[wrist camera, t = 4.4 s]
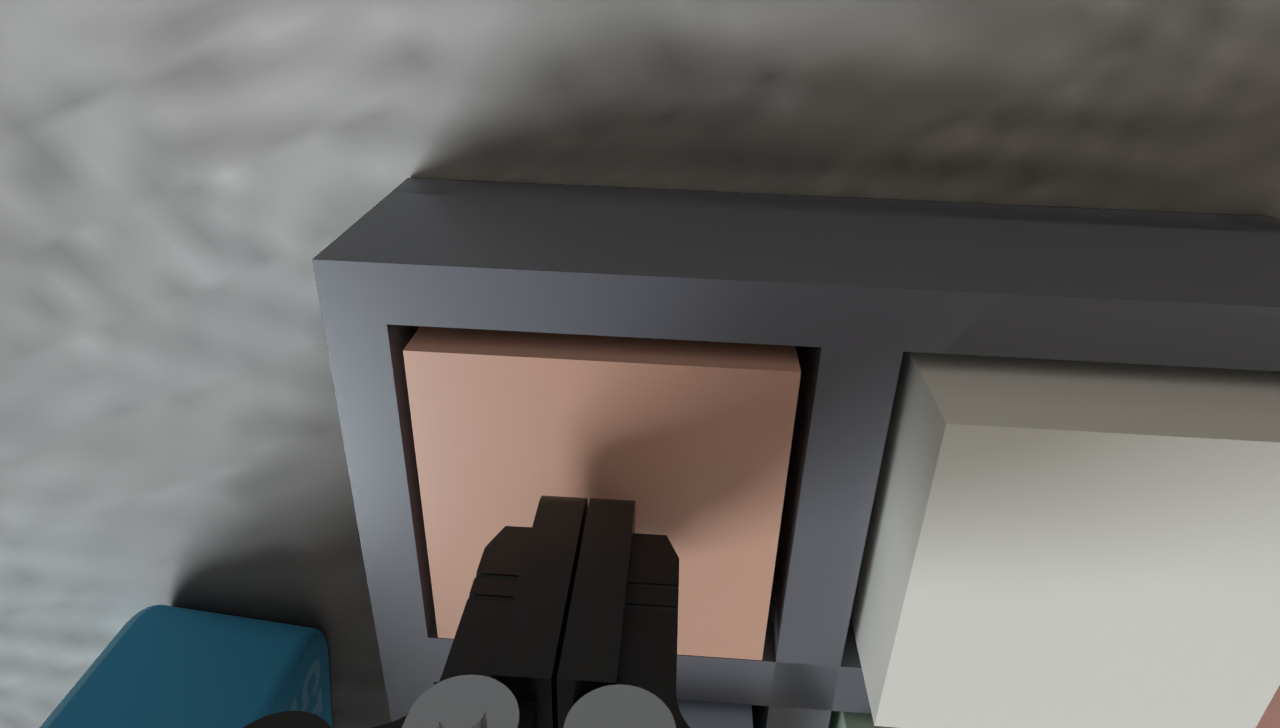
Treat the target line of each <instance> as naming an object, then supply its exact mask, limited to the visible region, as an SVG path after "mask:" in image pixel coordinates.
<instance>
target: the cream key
mask: <svg viewBox="0 0 1280 728" xmlns="http://www.w3.org/2000/svg"><path fill="white" fill-rule="evenodd" d="M850 617H851V621H852V626H853V630H854V635H855V640H856V644H857V649H858V653H859V658H860V663H861V667H862V672H863V676H864V681H865V686H866V690H867V695H868V699H869V704H870V708H871V713H872V718H873V722H874V726H882V727H896V728H1256V726H1257V724H1258V723H1259V721H1260V719H1261V717H1262V716H1263V714H1264V712H1265V710H1266V708H1267V707H1268V705H1269V703H1270V701H1271V700H1272V698H1273V696H1274V694H1275V692H1276V691H1277V689H1278V687H1279V685H1280V372H1279V371H1260V370H1241V369H1222V368H1203V367H1184V366H1165V365H1146V364H1127V363H1108V362H1089V361H1070V360H1051V359H1033V358H1014V357H995V356H976V355H957V354H938V353H919V352H903V356H902V361H901V366H900V371H899V376H898V381H897V386H896V391H895V396H894V401H893V406H892V411H891V416H890V421H889V426H888V431H887V436H886V441H885V446H884V451H883V456H882V461H881V466H880V471H879V476H878V481H877V486H876V491H875V496H874V501H873V506H872V511H871V516H870V521H869V526H868V531H867V536H866V541H865V546H864V551H863V556H862V561H861V566H860V571H859V576H858V581H857V586H856V591H855V596H854V601H853V606H852V611H851V616H850Z"/></svg>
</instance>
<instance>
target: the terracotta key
mask: <svg viewBox="0 0 1280 728" xmlns="http://www.w3.org/2000/svg"><path fill="white" fill-rule="evenodd" d="M403 355H404V364H405V372H406V380H407V388H408V396H409V404H410V413H411V421H412V429H413V437H414V445H415V453H416V462H417V470H418V478H419V486H420V494H421V502H422V511H423V519H424V527H425V535H426V543H427V551H428V559H429V568H430V576H431V584H432V592H433V600H434V608H435V617H436V625H437V633H438V638H450V639H454V637H455V634H456V631H457V629H458V626H459V623H460V620H461V617H462V614H463V611H464V608H465V605H466V602H467V599H469V593H470V590H471V587H472V584H473V581H474V578H476V572H477V569H478V566H479V563H480V560H481V557H482V554H483V552H484V549H485V547H486V546H487V545H488V544H489V543H490V541H491V540H492V539H493V538H494V537H495V536H496V535H497V534H498V533H499V532H500V531H501V530H502V529H503V528H504V527H505V526H517V527H532V526H533V522H534V519H535V515H536V511H537V507H538V504H539V500H540V498H541V496H542V495H543V496H561V497H578V498H587V500H588V505H589V501H590V498H599V499H616V500H634V501H636V515H635V533H639V534H656V535H667V537H668V539H669V541H670V542H671V544H672V546H673V548H674V550H675V552H676V553H677V555H678V557H679V595H678V637H677V654H678V655H693V656H707V657H721V658H735V659H750V660H762V657H763V650H764V642H765V635H766V628H767V620H768V613H769V605H770V598H771V591H772V583H773V576H774V569H775V561H776V554H777V546H778V539H779V532H780V524H781V517H782V510H783V502H784V495H785V487H786V480H787V473H788V465H789V458H790V451H791V443H792V436H793V428H794V421H795V414H796V406H797V399H798V392H799V384H800V377H801V369H800V365H799V361H798V356H797V352H796V347H795V346H786V345H767V344H749V343H730V342H711V341H692V340H673V339H654V338H635V337H616V336H597V335H578V334H559V333H540V332H521V331H502V330H484V329H465V328H446V327H427V326H420V327H419V328H418V330H417V331H416V333H415V334H414V336H413V337H412V338H411V340H410V341H409V343H408V344H407V345H406V347H405V348H404V350H403Z"/></svg>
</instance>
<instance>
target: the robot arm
mask: <svg viewBox="0 0 1280 728" xmlns="http://www.w3.org/2000/svg"><path fill="white" fill-rule="evenodd" d="M635 515H636V501H634V500H616V499H599V498H590V501H589V505H588V500H587V498H578V497H561V496H543V495H542V496H541V498H540V500H539V504H538V507H537V511H536V515H535V519H534V522H533V526H532V527H517V526H505V527H504V528H503V529H502V530H501V531H500V532H499V533H498V534H497V535H496V536H495V537H494V538H493V539H492V540H491V541H490V543H489V544H488V545H487V546H486V547H485V549H484V552H483V554H482V557H481V560H480V563H479V566H478V569H477V572H476V578H474V581H473V584H472V587H471V590H470V593H469V599H467V602H466V605H465V608H464V611H463V614H462V617H461V620H460V623H459V626H458V629H457V631H456V634H455V637H454V640H453V643H452V646H451V649H450V652H449V655H448V658H447V661H446V664H445V667H444V670H443V673H442V676H441V678H440V681H439V683H437V684H435V685H433V686H432V687H431V688H429V689H428V690H426V691H425V692H424V693H423V694H422V695H421V696H420V697H419V698H418V699H417V700H416V702H415V703H414V704H413V706H412V707H411V709H410V711H409V713H408V714H407V715H405V716H404V717H402V718H400V719H398V720H395V721H393V722H391V723H388V724H384V725H381V726H377V727H373V728H690V727H689V726H688V724H687V723H686V721H685V720H684V718H683V716H682V714H681V712H680V710H679V707H678V703H677V696H676V678H677V637H678V595H679V557H678V555H677V553H676V552H675V550H674V548H673V546H672V544H671V542H670V541H669V539H668V537H667V535H656V534H639V533H635ZM243 728H331V727H330V725H329V724H328V723H327V722H326V721H325V720H324V719H322V718H321V717H319V716H317V715H315V714H312V713H309V712H304V711H284V712H278V713H274V714H271V715H267V716H264V717H262V718H260V719H258V720H255V721H253V722H252V723H250V724H248V725H246V726H245V727H243Z"/></svg>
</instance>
